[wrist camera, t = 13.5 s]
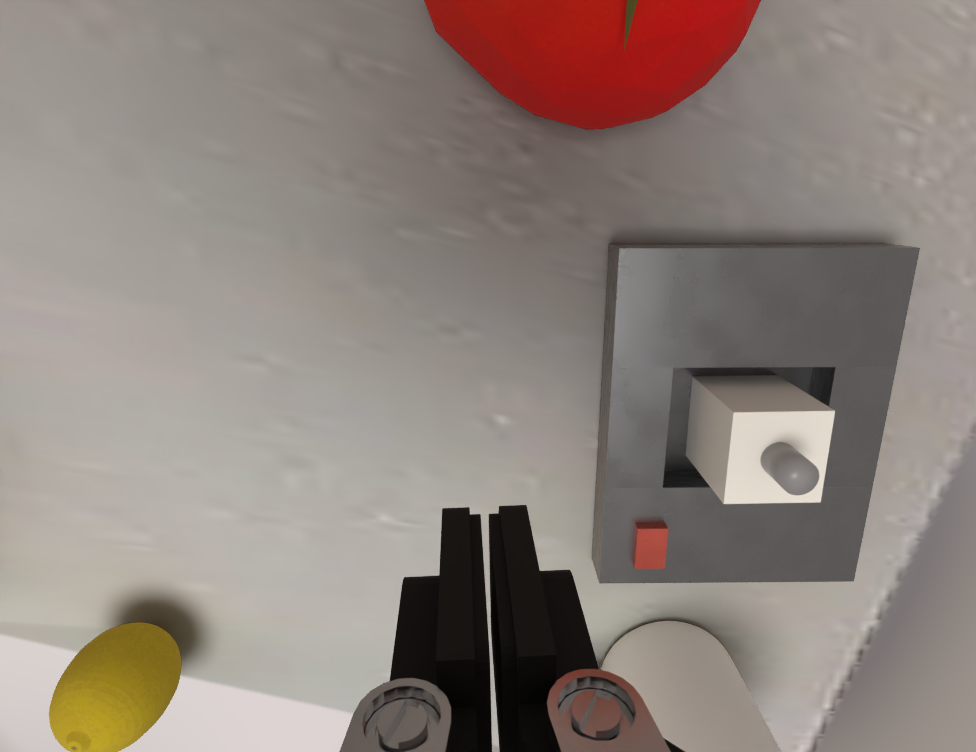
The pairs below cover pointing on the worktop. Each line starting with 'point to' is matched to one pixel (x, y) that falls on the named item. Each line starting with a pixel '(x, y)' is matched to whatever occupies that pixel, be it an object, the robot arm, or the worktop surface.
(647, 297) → the socket
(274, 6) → the worktop surface
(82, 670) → the lemon
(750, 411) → the plug
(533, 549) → the robot arm
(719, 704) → the cup
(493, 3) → the tomato
